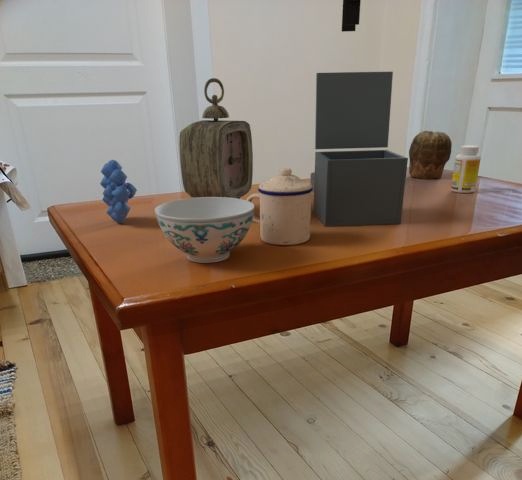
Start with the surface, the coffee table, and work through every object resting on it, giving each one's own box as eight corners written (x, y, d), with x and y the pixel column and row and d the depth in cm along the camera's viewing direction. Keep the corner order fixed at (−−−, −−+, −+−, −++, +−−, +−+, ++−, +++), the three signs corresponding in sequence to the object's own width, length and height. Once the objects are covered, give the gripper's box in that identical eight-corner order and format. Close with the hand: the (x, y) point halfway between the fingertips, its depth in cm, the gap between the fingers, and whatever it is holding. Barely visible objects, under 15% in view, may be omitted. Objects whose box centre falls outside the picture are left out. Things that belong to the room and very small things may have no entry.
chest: (400, 223, 96) (408, 158, 91) (324, 226, 95) (327, 160, 90) (381, 209, 108) (387, 149, 102) (313, 211, 107) (315, 151, 101)
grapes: (150, 226, 98) (143, 160, 92) (116, 231, 95) (105, 163, 89) (132, 214, 107) (124, 154, 101) (99, 219, 104) (89, 156, 98)
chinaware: (231, 238, 89) (229, 193, 86) (272, 261, 77) (272, 210, 74) (148, 251, 83) (142, 203, 79) (180, 278, 71) (174, 223, 68)
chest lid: (393, 71, 96) (385, 74, 100) (317, 72, 95) (312, 75, 100) (387, 147, 101) (381, 146, 106) (315, 149, 100) (311, 148, 105)
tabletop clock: (221, 223, 98) (214, 77, 87) (182, 219, 102) (169, 78, 90) (253, 208, 110) (250, 77, 98) (217, 205, 113) (210, 78, 102)
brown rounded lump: (413, 181, 136) (418, 132, 131) (401, 174, 146) (406, 129, 141) (453, 180, 137) (460, 131, 131) (439, 173, 146) (445, 128, 141)
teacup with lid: (318, 235, 90) (321, 166, 85) (299, 248, 83) (300, 174, 78) (258, 228, 95) (257, 162, 89) (235, 241, 88) (232, 170, 82)
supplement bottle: (478, 190, 123) (486, 145, 118) (469, 194, 120) (477, 148, 115) (456, 188, 126) (462, 144, 122) (446, 191, 123) (453, 146, 118)
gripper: (334, -96, 98) (329, 34, 107) (336, -147, 76) (330, 22, 86) (374, -98, 97) (365, 33, 107) (388, -150, 75) (375, 20, 85)
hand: (349, 28), depth 96 cm, fingers open, 13 cm apart
